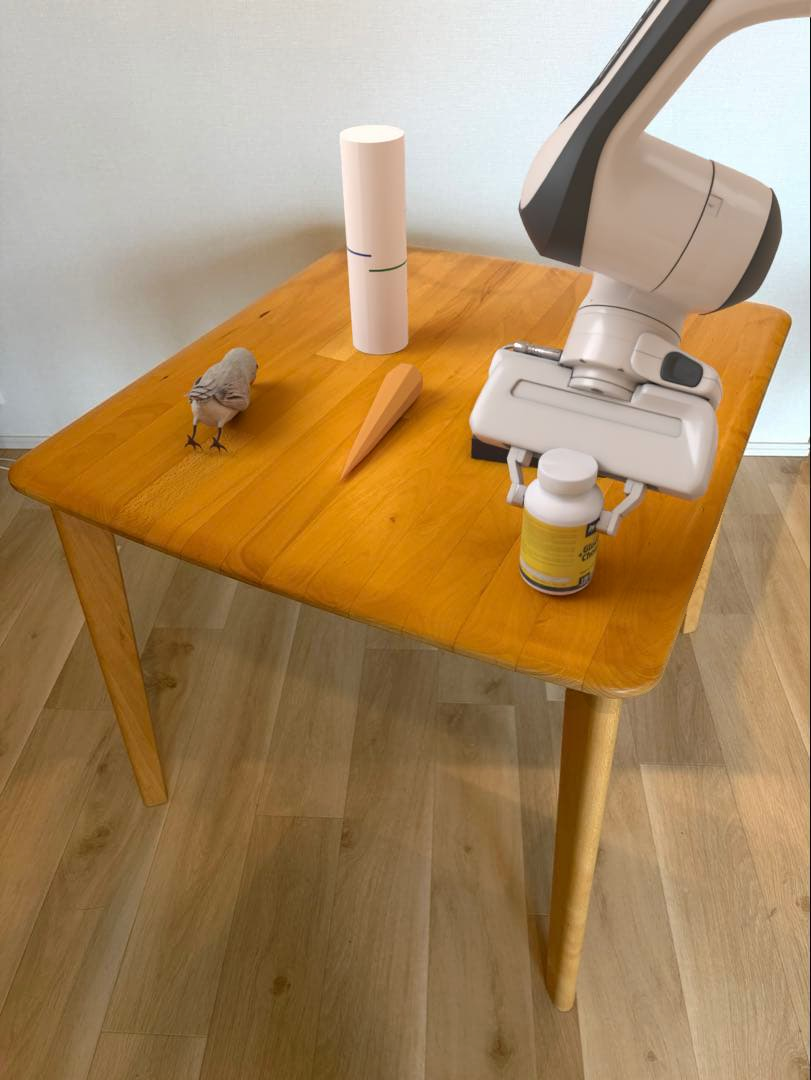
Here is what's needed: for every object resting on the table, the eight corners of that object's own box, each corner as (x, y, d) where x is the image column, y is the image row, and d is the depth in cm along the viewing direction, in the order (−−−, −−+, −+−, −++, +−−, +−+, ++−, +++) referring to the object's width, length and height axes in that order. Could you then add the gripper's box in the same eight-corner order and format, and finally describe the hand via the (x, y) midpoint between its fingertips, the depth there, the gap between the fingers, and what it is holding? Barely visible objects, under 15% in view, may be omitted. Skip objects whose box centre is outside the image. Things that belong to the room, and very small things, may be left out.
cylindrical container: (367, 325, 113) (356, 122, 97) (416, 334, 111) (414, 127, 95) (343, 349, 108) (328, 139, 92) (395, 358, 106) (388, 145, 90)
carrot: (401, 393, 101) (386, 360, 99) (434, 387, 99) (419, 353, 96) (330, 502, 88) (310, 468, 86) (366, 498, 86) (346, 463, 83)
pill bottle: (570, 609, 71) (585, 498, 64) (504, 579, 74) (511, 469, 67) (606, 567, 75) (624, 458, 68) (542, 540, 78) (552, 432, 71)
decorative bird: (273, 385, 102) (265, 326, 97) (227, 460, 90) (216, 398, 85) (230, 381, 103) (220, 323, 98) (179, 456, 90) (165, 394, 86)
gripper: (491, 322, 72) (435, 477, 71) (739, 377, 63) (678, 552, 63) (510, 348, 77) (459, 492, 77) (740, 402, 69) (684, 562, 69)
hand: (559, 520), depth 70 cm, fingers closed on pill bottle, 6 cm apart
